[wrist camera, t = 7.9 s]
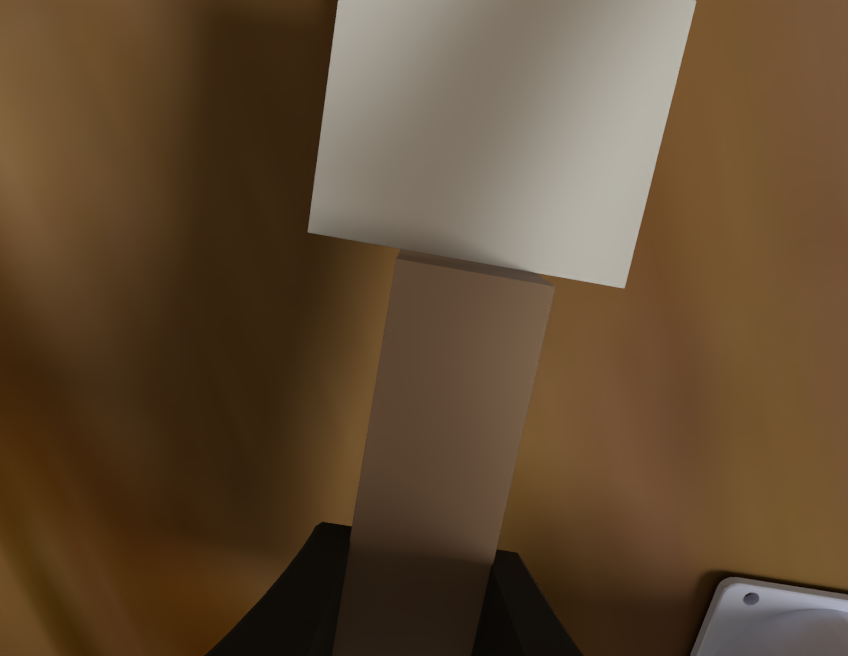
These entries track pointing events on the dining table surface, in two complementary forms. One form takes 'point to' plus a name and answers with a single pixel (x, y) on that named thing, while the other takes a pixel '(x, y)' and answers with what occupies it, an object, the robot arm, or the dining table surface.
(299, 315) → the dining table surface
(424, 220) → the turner
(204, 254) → the dining table surface
